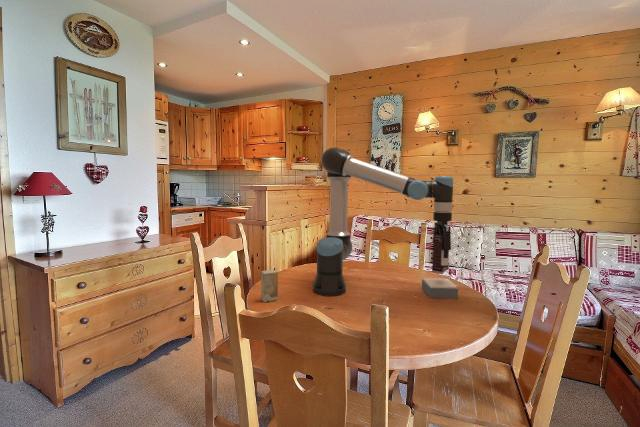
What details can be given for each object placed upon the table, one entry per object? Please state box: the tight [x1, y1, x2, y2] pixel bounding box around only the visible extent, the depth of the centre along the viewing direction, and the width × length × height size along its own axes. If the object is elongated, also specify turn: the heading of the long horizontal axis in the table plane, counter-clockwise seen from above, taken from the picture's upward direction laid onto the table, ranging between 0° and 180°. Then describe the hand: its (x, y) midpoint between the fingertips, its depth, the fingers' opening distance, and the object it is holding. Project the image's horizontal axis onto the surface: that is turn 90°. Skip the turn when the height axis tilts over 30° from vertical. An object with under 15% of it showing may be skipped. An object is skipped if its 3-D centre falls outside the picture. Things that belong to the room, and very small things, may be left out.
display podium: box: [421, 277, 459, 299], centre depth 144 cm, size 12×12×5 cm
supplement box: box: [431, 235, 450, 275], centre depth 143 cm, size 9×5×16 cm, turn 143°
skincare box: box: [260, 269, 279, 303], centre depth 135 cm, size 6×4×12 cm
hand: (440, 262), depth 143 cm, fingers closed on supplement box, 9 cm apart
